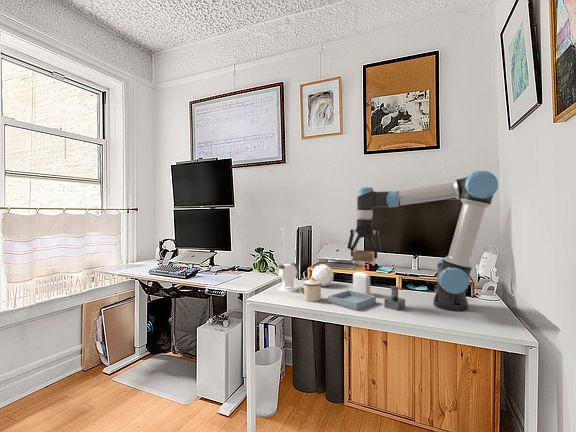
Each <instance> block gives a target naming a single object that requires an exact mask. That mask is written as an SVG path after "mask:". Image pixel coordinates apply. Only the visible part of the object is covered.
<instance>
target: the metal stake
mask: <svg viewBox="0 0 576 432" xmlns="http://www.w3.org/2000/svg"><path fill="white" fill-rule="evenodd" d="M389 289H391V296H389V297H386V298H384V308H386V309H390V310H393V311H401V310H402V309H406V298H401V297H399V286H396V285H395V286H394V285H390V286H389Z"/></svg>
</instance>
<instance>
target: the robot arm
mask: <svg viewBox="0 0 576 432" xmlns="http://www.w3.org/2000/svg"><path fill="white" fill-rule="evenodd" d="M498 188H499V182H498V179H497V177H496V176H495V174H493V173H492V172H490V171H487V170H476V171H474V172H471V173H470V174H469V175H468V176H465V177H462V178H457V179H454V180H453V181H452V182H446V183H439V184H432V185H429V186H427V185H426V186H420V187H415V188H410V189H404V190H403V189H402V190H396V191H392V190H389V191H387V190H386V191H374V188H373V187H366V186H365V187H359V188H358V189H357V195H356V199H357V200H356V202H357V203H356V208H357V209H356V218H357V219H356V227H355V229H354V228H353V229H350V231H349V232H350V236H349V239H348V243H347V249H349V250H350V257H352V258H353V252H354V251H357V249H356V247H357V245H358V243H359V241H360V239H361V238H365V239H367V240H368V241H369V243H370V246H371V248H372V251H374V252H373V260H372V262H371V265H372V266H375V265H376V259H377V258H378V253H379V252H380V251H381V250H382V246H381V241H380V237H379V232H380V231H379V230H378V229H377V230H374V228H373V215H374V214H373V210H374V208H397V207H400V206H405V205H406V206H407V205H412V204H421V203H427V202H436V201H441V200H443V201H444V200H447V199H457V200H460V202H461V203H462V206H461V210H460V213H459V216H458V219H457V223H456V227H455V231H454V234H453V238H452V242H451V244H450V247H449V252H448V254H447V256H445V257H443V258H439V259H438V260H437V263H436V264H437V287H436V288H437V289H436V292H435V294H434V296H433V297H434V298H433V303H432V304H433V306H435V307H436V308H438V309H442V310H447V311H454V312H457V311H459V312H461V311H462V312H463V311H467V310H468V309H469V301H468V299H467V297H466V296H467V295H466V293H465V291H466V290H468V288H469V285H470V276H471V271H472V268H473V265H472V264H471V262H470V261H471V257H472V255H473V252H474V251H473V250H474V247H475V244H476V241H477V237H478V234H479V231H480V230H479V229H480V227H481V224H482V220H483V217H484V214H485V211H486V208H488V207H490V206H491V204H492V201H493V199H494V195H495V193H496V192H497V190H498ZM355 234H357V235H356V239H355V241H354V242H353V240H354V236H355ZM372 234H374V238H375V242H374V240H373V236H372ZM375 243H376V244H375ZM356 262H357V261H353V260H352V264H354V265H355V264H356Z"/></svg>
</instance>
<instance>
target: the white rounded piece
mask: <svg viewBox="0 0 576 432" xmlns="http://www.w3.org/2000/svg"><path fill="white" fill-rule="evenodd" d="M278 268H279V270H278V276H279V277H278V278H279V282H280V284H281V285H280V287H278V288H277V290H278V291H280V292H284V293H285V292H286V293H287V292H288V293H289V292H290V293H291V292H296V291H298V288H297V287H296V286H295V285H294V284H295V279H296V278H297V275H298V270H297V268H298V264H297V263H296V262H291V263H284V264H278Z"/></svg>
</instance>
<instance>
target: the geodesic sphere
mask: <svg viewBox="0 0 576 432" xmlns="http://www.w3.org/2000/svg"><path fill="white" fill-rule="evenodd" d="M311 272H312V273H311V277H314V279H316V280H317V281H320V282H321V287H327V286H330V285H331V283H332V282H333V281H334V276H335V275H334V274H335V273H334V272H333V269H332V267H330V266H328V265H327V264H324V263H320V264H318V265H316V266H315V267H314V268H313V269H312V271H311Z"/></svg>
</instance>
